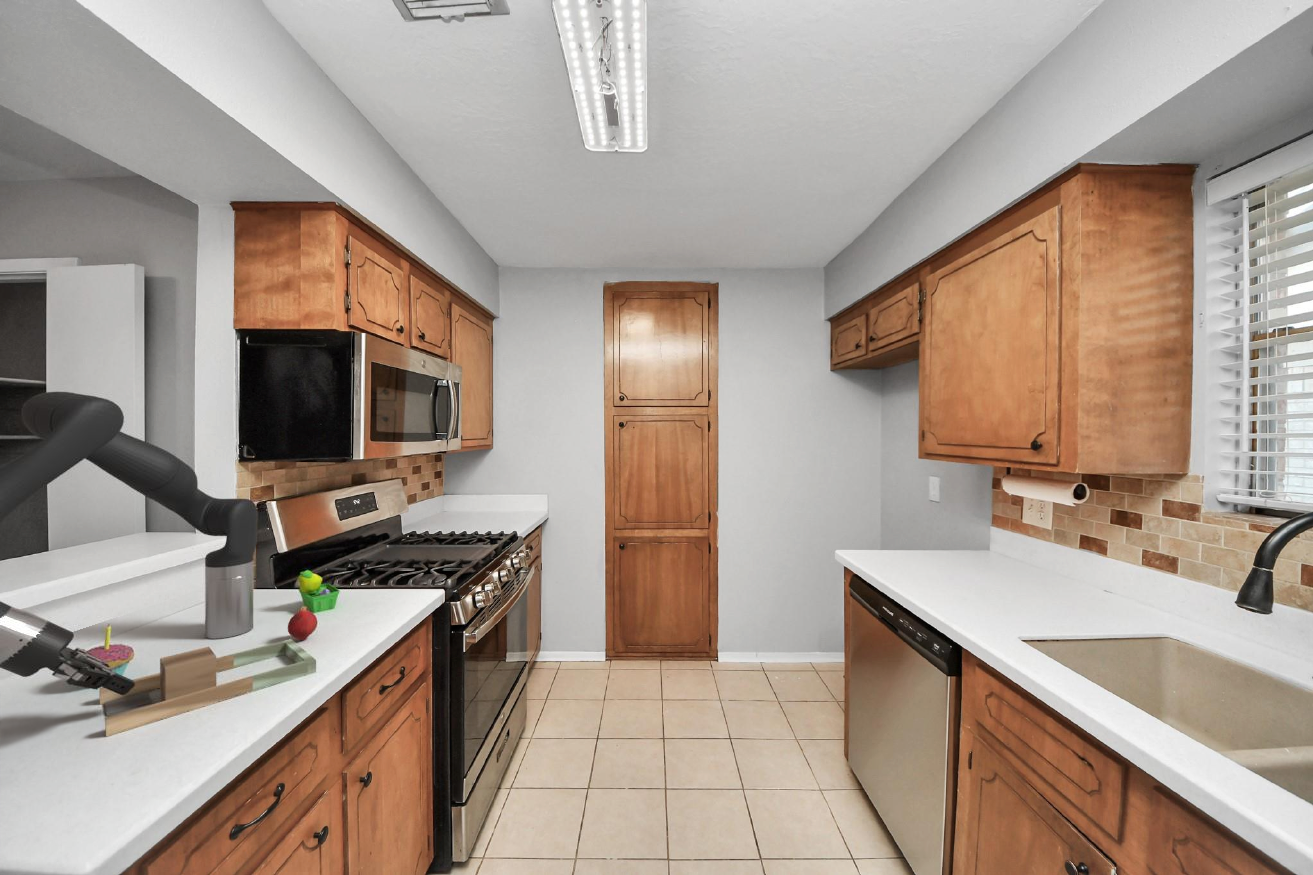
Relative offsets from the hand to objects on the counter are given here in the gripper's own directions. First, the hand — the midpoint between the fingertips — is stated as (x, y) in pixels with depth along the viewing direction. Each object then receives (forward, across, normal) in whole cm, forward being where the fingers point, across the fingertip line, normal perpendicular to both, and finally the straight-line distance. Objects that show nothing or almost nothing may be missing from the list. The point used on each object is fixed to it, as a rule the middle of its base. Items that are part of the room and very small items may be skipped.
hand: (129, 688), depth 90 cm
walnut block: (+8, 0, -3) cm, 9 cm away
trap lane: (+10, 0, -5) cm, 11 cm away
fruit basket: (+31, +37, -25) cm, 54 cm away
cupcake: (+1, +19, +4) cm, 20 cm away
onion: (+24, +13, -18) cm, 33 cm away
